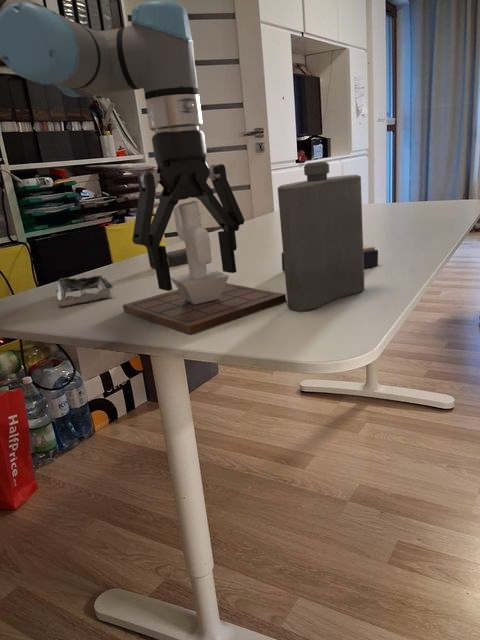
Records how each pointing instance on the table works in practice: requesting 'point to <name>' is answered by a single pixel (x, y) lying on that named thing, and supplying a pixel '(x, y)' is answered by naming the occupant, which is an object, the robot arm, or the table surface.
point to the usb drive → (177, 257)
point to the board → (203, 308)
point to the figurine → (196, 258)
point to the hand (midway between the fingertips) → (199, 280)
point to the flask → (321, 237)
